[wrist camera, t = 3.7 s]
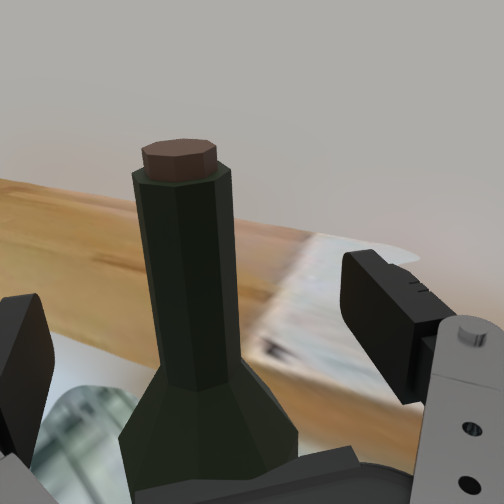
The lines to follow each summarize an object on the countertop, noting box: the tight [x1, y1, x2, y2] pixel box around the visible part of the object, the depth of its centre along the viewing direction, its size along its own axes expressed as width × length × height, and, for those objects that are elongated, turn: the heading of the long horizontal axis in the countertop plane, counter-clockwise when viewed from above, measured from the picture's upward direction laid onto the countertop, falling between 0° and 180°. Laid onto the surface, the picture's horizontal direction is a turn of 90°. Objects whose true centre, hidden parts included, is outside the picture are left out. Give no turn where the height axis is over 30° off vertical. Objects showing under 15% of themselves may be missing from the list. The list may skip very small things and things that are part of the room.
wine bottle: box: [118, 139, 298, 504], centre depth 22 cm, size 8×8×30 cm
